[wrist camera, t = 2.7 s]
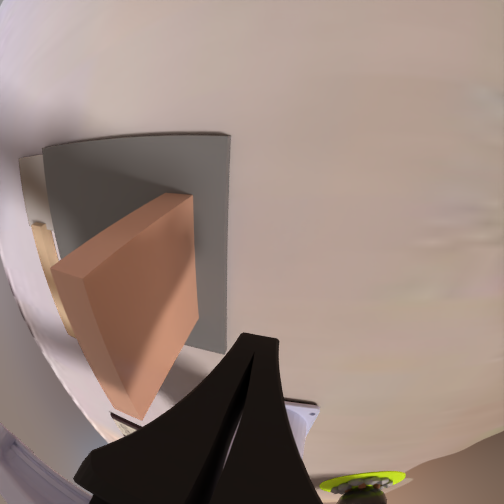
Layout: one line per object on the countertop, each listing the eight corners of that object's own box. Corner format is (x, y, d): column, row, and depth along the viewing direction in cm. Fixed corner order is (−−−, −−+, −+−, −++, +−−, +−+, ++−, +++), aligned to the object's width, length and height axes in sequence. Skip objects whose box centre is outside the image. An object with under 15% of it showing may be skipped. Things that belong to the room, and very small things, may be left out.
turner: (93, 337, 23) (88, 344, 22) (65, 324, 24) (60, 330, 23) (49, 153, 15) (39, 156, 14) (22, 157, 15) (13, 160, 14)
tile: (198, 318, 17) (142, 420, 10) (174, 312, 17) (112, 407, 10) (193, 194, 13) (82, 278, 6) (162, 192, 14) (47, 267, 7)
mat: (226, 349, 19) (224, 354, 18) (80, 305, 21) (76, 308, 21) (230, 135, 12) (227, 136, 12) (47, 146, 14) (42, 148, 14)
